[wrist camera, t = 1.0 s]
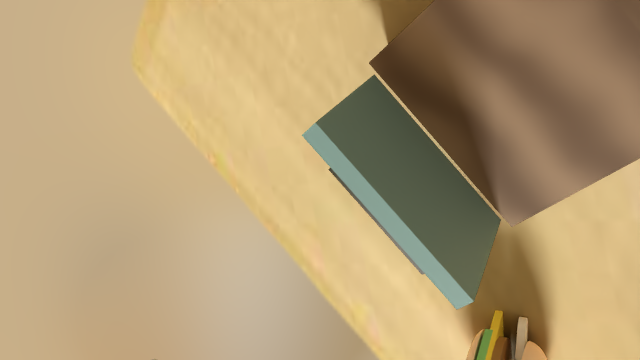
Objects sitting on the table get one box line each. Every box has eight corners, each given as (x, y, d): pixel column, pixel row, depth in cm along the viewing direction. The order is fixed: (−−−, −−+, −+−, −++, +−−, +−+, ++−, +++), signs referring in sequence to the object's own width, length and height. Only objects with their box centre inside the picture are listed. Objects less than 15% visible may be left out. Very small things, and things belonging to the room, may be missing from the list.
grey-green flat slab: (374, 74, 44) (315, 122, 35) (500, 219, 45) (473, 301, 36) (352, 94, 45) (291, 145, 37) (475, 233, 46) (443, 315, 38)
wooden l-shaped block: (571, -125, 36) (555, -127, 26) (736, 75, 37) (783, 149, 27) (388, 47, 47) (327, 93, 37) (519, 198, 48) (495, 284, 38)
